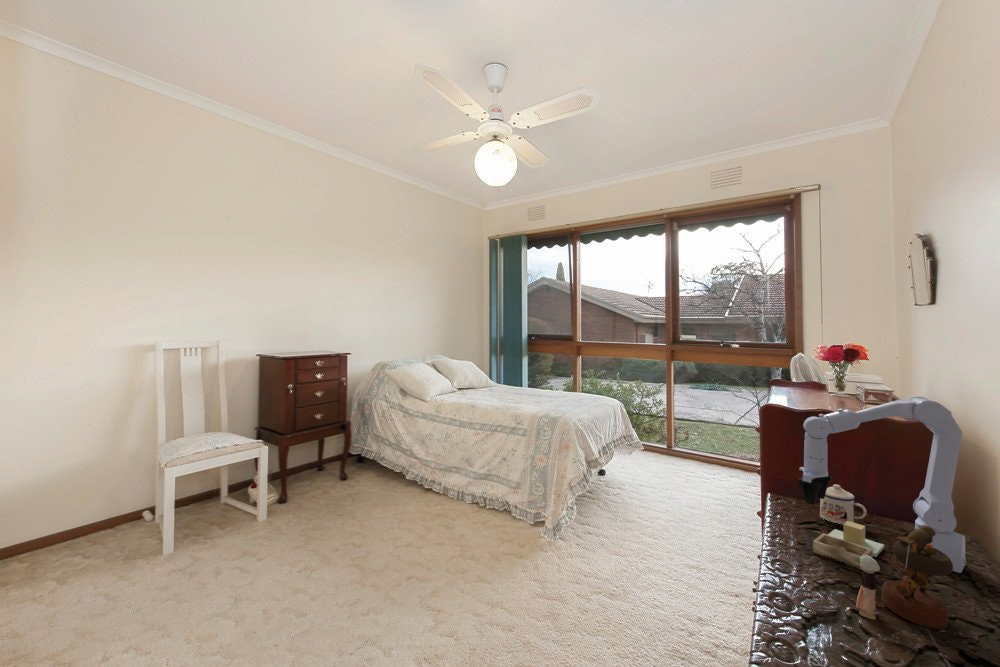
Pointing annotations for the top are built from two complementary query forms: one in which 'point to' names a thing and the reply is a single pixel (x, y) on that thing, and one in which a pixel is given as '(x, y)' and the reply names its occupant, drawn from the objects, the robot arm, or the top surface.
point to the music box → (918, 580)
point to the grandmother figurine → (867, 587)
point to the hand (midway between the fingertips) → (815, 500)
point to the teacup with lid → (839, 506)
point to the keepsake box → (840, 550)
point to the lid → (857, 537)
